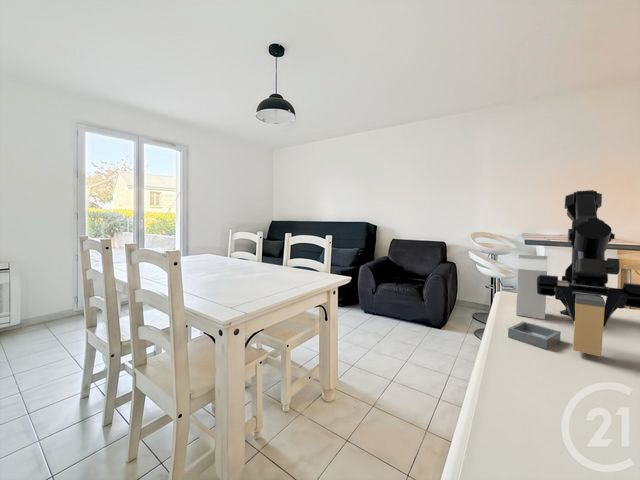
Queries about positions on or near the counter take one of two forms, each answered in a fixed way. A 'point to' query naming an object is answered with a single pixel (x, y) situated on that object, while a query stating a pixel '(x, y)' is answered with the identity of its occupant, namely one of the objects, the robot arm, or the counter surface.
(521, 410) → the counter surface
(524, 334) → the socket collar
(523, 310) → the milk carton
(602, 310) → the plug
